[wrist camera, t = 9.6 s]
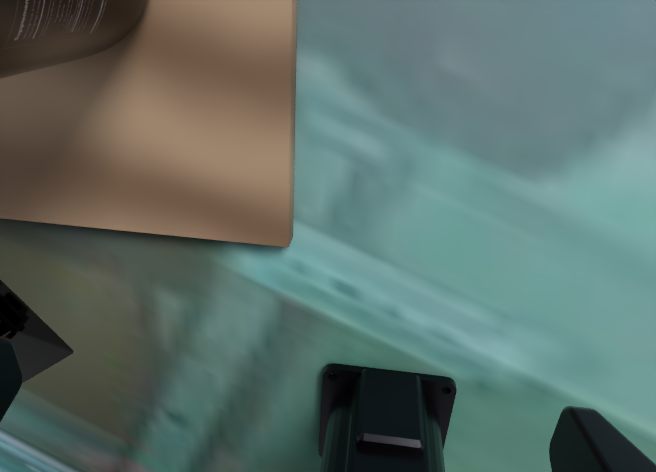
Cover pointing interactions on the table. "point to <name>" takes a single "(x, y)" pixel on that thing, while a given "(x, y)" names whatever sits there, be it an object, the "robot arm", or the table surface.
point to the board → (162, 127)
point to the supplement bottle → (60, 30)
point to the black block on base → (29, 335)
